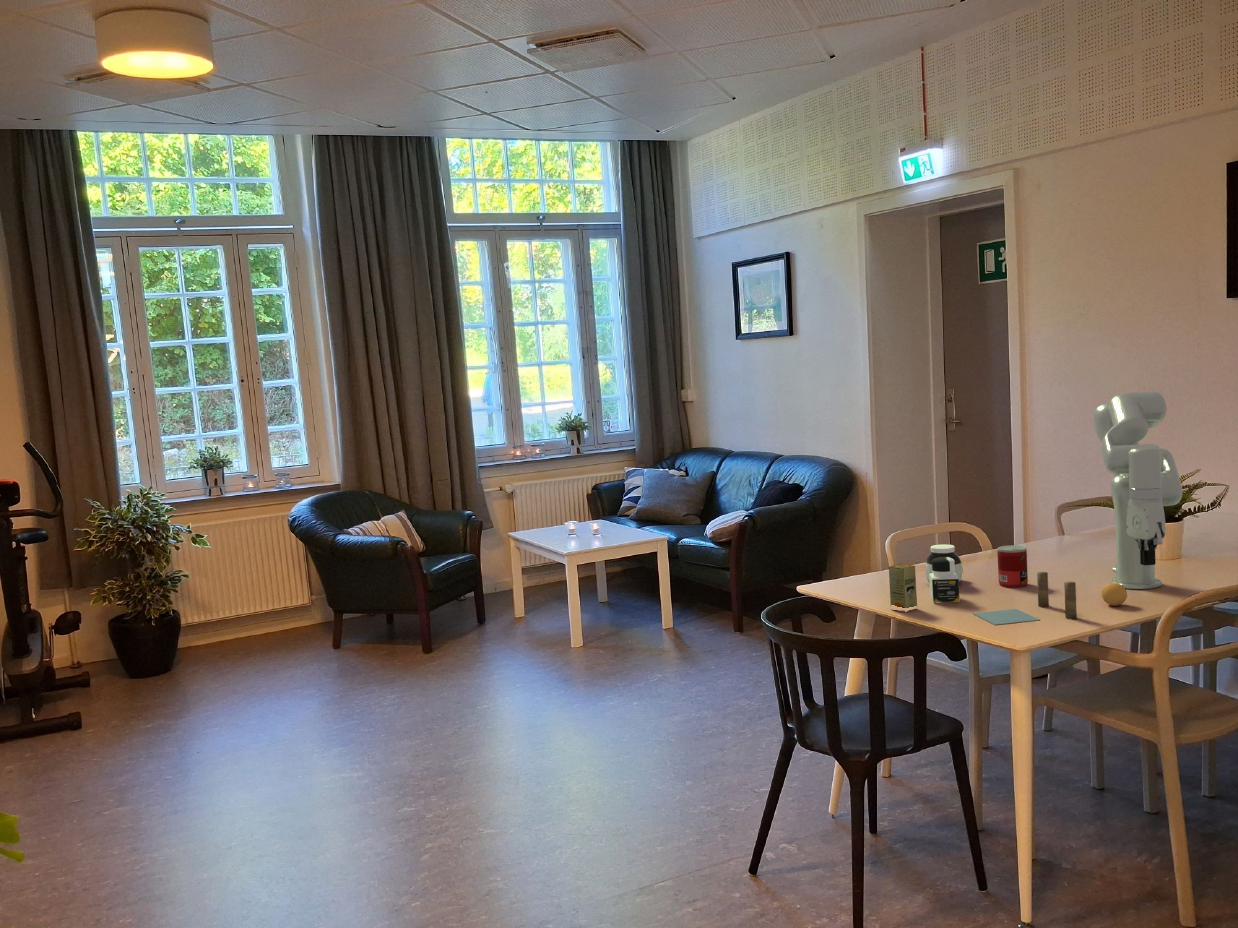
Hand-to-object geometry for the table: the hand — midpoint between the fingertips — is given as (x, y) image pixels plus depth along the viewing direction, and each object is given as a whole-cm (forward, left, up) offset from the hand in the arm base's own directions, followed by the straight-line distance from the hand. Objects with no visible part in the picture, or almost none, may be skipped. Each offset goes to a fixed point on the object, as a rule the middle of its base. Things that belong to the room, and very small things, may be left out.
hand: (1148, 564), depth 265 cm
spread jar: (-43, -36, -10) cm, 57 cm away
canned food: (-33, -20, -10) cm, 40 cm away
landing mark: (-1, -39, -10) cm, 40 cm away
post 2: (+6, -25, -10) cm, 28 cm away
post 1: (-7, -25, -10) cm, 28 cm away
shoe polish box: (-19, -59, -10) cm, 63 cm away
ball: (-1, -9, -7) cm, 12 cm away
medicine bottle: (-24, -45, -10) cm, 52 cm away
